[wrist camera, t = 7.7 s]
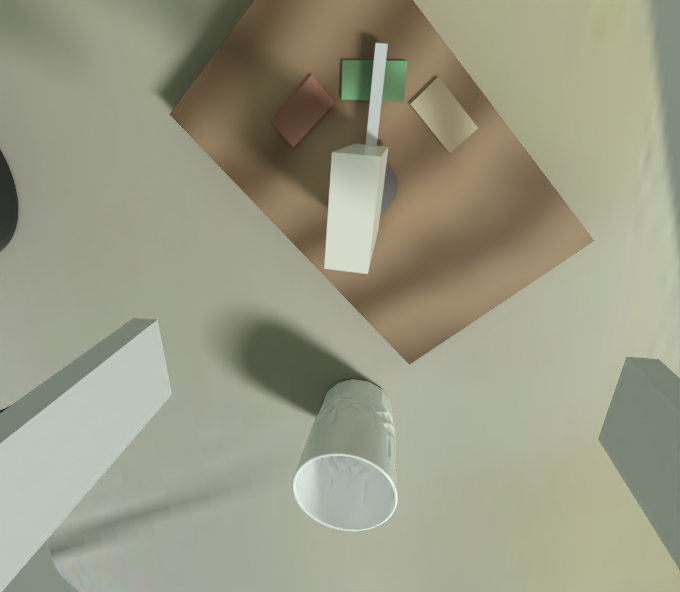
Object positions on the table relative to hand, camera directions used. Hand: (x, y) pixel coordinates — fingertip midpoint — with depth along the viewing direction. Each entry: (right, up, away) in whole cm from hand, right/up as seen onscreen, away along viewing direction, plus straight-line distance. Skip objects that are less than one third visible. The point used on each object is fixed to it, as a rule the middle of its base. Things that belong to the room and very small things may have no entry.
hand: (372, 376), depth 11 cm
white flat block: (+1, +12, +15) cm, 19 cm away
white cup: (+1, -8, +27) cm, 28 cm away
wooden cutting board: (+2, +12, +18) cm, 22 cm away
